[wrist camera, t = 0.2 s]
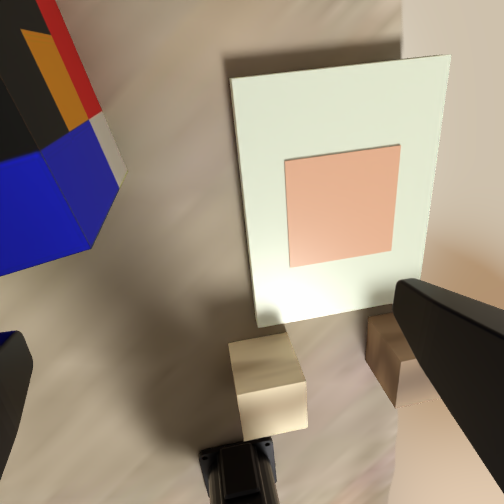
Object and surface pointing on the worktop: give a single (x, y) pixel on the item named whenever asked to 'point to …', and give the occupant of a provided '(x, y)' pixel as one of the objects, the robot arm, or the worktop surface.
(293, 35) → the worktop surface
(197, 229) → the worktop surface
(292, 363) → the maple block
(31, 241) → the puzzle toy
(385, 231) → the plate
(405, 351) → the walnut block
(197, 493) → the worktop surface
